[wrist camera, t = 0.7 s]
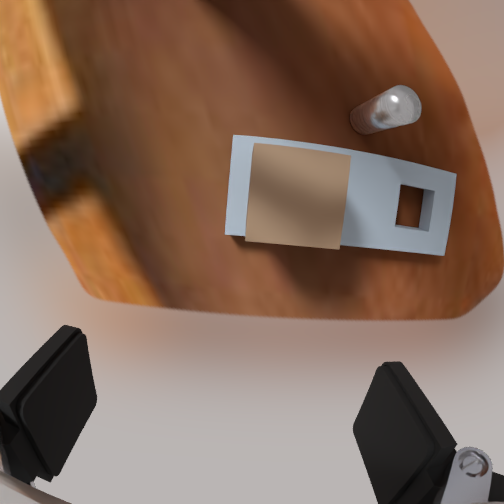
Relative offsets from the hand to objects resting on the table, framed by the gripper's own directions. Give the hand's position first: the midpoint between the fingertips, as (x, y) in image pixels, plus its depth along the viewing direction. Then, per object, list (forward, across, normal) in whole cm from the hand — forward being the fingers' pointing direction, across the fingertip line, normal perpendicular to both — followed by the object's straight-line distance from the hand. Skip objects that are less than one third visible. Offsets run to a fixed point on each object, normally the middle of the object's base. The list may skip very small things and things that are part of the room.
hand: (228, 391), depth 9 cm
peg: (+26, -12, -14) cm, 32 cm away
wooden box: (+24, -4, -5) cm, 24 cm away
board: (+26, -11, -5) cm, 29 cm away
